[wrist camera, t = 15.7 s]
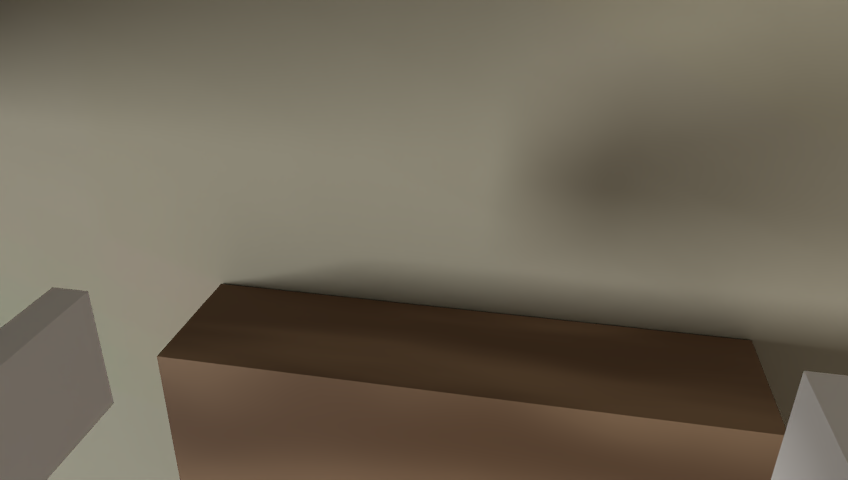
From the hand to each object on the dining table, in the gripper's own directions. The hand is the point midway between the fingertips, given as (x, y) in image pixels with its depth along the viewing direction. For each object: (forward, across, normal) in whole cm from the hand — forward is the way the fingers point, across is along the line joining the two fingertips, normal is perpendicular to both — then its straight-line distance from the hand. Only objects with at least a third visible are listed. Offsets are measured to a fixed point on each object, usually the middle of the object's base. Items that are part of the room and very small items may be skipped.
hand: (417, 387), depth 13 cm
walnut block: (+8, 0, -11) cm, 14 cm away
